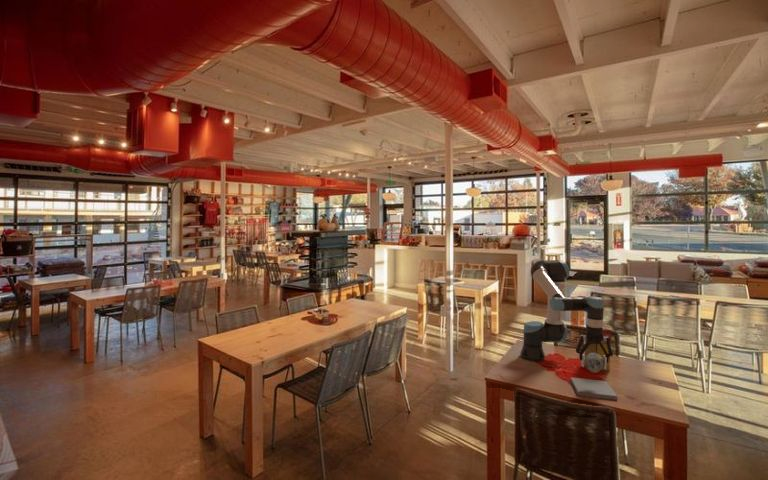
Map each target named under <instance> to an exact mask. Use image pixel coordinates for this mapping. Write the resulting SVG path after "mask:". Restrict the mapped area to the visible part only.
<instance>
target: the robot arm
mask: <svg viewBox="0 0 768 480" xmlns="http://www.w3.org/2000/svg"><path fill="white" fill-rule="evenodd" d="M530 276H531V278H532V279H533V281H535V282H537V283H538V284H539V286H540V287H541V289H542V290H543V292H544V293H545V294H546V296H547V308H546V309H547V313H546V319H545V320H544V323H543V322H541V321H535V320H532V321H527V322H526V323H524V325H523V330H522V331H523V345H522V348H521V351H520V353H519V354H520V357H521V359H523V360H525V361H528V362H529V361H530V362H537V363H539V362H543V361H545V360H546V355H545V351H544V348H543V343H563V342H565V341H566V340H567V337H568V329H567V328H568V327H567V325H566V324H565V322H564V321H563V320H562V314H563V313H562V312H585V313H586V324H587V325H588V326H587V333H586V332H585V335H583V334H580V335H579V341H578V342H577V346H576V349H575V352H576V353H577V354H579V361H580V365H581V367H582V368H585V365H584V360H585V350H586V349H587V348H588V346H589V345H590V344H599V345H600V347H601V348H602V350H603V352H604V354H605V355H604V357H603V368H604V369H606V363H608V362H609V356H610V357H613V356H614V353H613V350H612V347H610V343H609V340H610V339H609V338H608V337H603V328H602V327H603V326H604V313H605V312H604V310H605V305H604V299H603V298H602V297H600V296H588V297H587V296H584V295H578V296H575V297H574V296H573V297H571V296H570V297H569V296H568V297H567V296H566V295H565V294H564V293H563V284H564V283H565V282H566V279H567V278H569V276H570V268H569V266H568V264H567V262H566V261H564V260H558V259H555V260H545V259H544V260H543V259H542V260H537V261H536V262H534V264H532V265H531V268H530ZM586 338H587V341H586ZM603 339H604V340H605V342H606V345H607V349H608V352H609V353H607V351H606V350H605V348H604V346H603V345H602V343H601V341H602V340H603ZM584 340H585V343H584ZM583 343H584V345H583Z"/></svg>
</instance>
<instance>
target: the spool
mask: <svg viewBox="0 0 768 480" xmlns="http://www.w3.org/2000/svg"><path fill="white" fill-rule="evenodd" d="M602 365H603V358H602V357H601V356H600V355H599V354H597V353H590V354H588V355H587V356H586V357H585V356H584V368H586V369H587V370H588V371H589V372H591V373H594V374H596V373H599V372H600V369H601V368H602Z"/></svg>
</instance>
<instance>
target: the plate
mask: <svg viewBox="0 0 768 480" xmlns="http://www.w3.org/2000/svg"><path fill="white" fill-rule="evenodd" d="M570 382H571V384H572V387H573V388H574V391H575V392H576V394H577V396H578V397H579V396H580V397H588V398H598V399H606V400H613V401H618V395H617V393H616V392H615V390H613V388H612V386H611V385H610V384H609V382H608V381H607V380H601V379H600V380H598V379H591V378H590V379H589V378H582V377H581V378H579V377H572V376H571V377H570Z"/></svg>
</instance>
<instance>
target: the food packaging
mask: <svg viewBox="0 0 768 480" xmlns="http://www.w3.org/2000/svg"><path fill="white" fill-rule="evenodd" d="M587 326H588V325H587V323H586V324H585V327H586V328H585V334H586V333H587ZM602 328H603V337H608V338H609V339H610V340H609V343H610V347H611V346H612V345H611V344H612V330H611V329H609V328H607V327H606V326H604V325H603V327H602ZM586 341H587V338H585V342H586ZM601 343H602V345H603V346H604V348H605V350H606V351H607V353H609V352H608V349H607V345H606V342H605V340H604V339H603V340H602V341H601ZM611 348H612V347H611ZM590 353H597V354H599V355H600V356H601V357H602V358H603V357H604V355H605V354H604V352H603V350H602V348H601V347H600V345H599V344H590V345H589V346H588V348H587V349H586V350H585V352H584V358H585V357H586V356H587V355H588V354H590ZM610 366H611V356H609V362H608V363H606V369H604V368H603V365H602V368H601V369H600V371H609V372H611V371H610V368H611V367H610ZM600 371H599V372H600Z"/></svg>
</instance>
